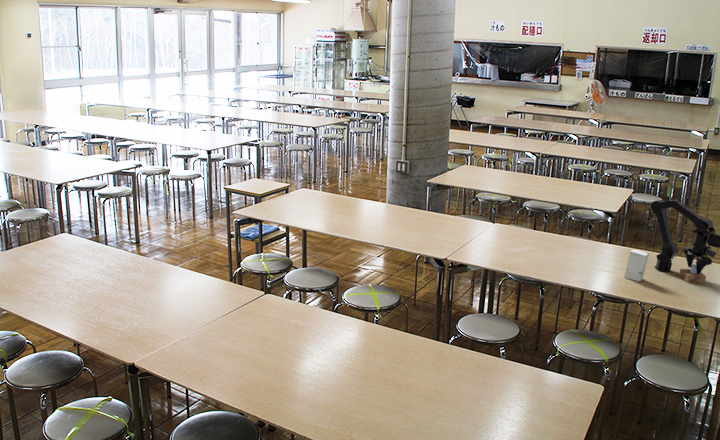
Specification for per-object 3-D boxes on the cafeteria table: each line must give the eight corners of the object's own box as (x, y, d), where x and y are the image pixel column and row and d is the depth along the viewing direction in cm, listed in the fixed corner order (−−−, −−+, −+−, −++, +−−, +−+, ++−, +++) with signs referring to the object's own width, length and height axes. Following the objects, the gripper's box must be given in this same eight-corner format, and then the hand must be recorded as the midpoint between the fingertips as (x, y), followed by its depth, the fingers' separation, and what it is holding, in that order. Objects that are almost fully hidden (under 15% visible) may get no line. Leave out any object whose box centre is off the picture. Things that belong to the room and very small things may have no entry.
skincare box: (623, 277, 311) (629, 251, 306) (627, 274, 315) (632, 248, 311) (640, 282, 306) (646, 255, 301) (643, 279, 310) (649, 252, 306)
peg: (689, 280, 312) (693, 266, 310) (686, 278, 315) (690, 264, 313) (696, 280, 312) (699, 266, 310) (693, 278, 315) (696, 264, 313)
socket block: (687, 282, 309) (688, 275, 308) (678, 275, 318) (680, 268, 317) (704, 283, 309) (706, 276, 308) (695, 276, 318) (697, 269, 316)
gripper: (725, 249, 298) (718, 278, 303) (706, 237, 316) (700, 265, 321) (703, 248, 298) (696, 276, 303) (685, 236, 316) (679, 263, 321)
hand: (693, 270), depth 312 cm, fingers open, 9 cm apart
